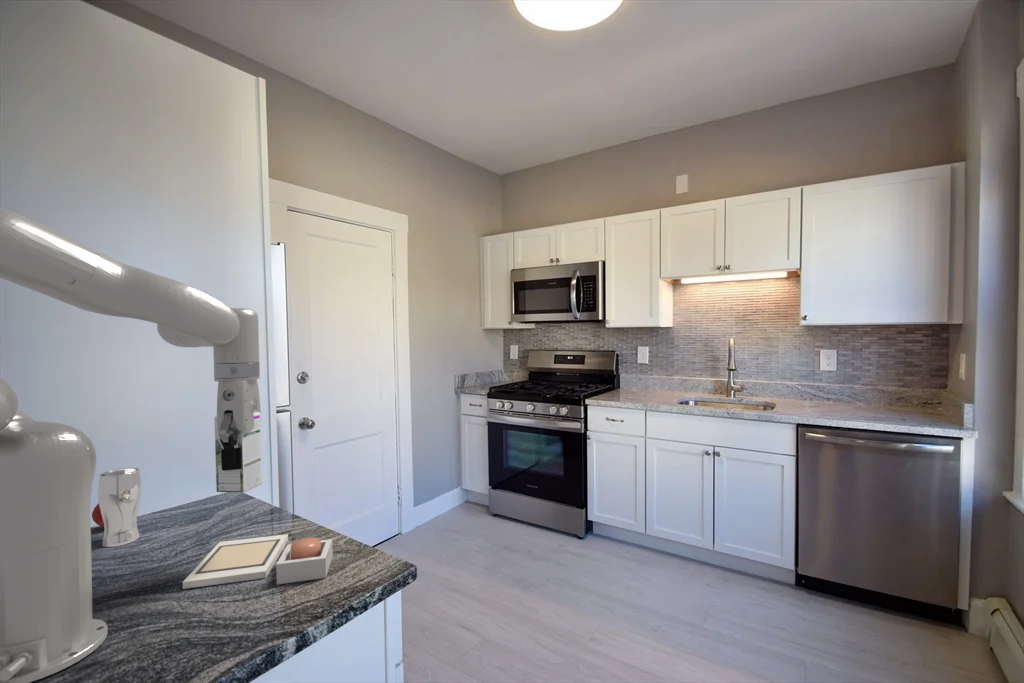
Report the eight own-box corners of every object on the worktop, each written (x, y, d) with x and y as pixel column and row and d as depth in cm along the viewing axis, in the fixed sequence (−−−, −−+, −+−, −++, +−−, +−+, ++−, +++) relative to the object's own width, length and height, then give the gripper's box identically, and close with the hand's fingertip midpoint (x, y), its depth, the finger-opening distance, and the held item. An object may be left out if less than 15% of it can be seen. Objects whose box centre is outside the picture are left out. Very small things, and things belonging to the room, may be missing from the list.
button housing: (325, 577, 79) (325, 558, 79) (276, 584, 78) (276, 564, 78) (332, 556, 87) (332, 539, 87) (288, 562, 85) (287, 544, 85)
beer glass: (137, 531, 102) (136, 465, 102) (145, 539, 97) (144, 470, 97) (96, 542, 96) (94, 473, 96) (102, 551, 92) (101, 478, 92)
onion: (85, 532, 102) (85, 497, 102) (114, 522, 107) (114, 489, 107) (103, 534, 100) (102, 499, 100) (131, 524, 106) (131, 490, 106)
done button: (318, 560, 81) (317, 547, 81) (287, 564, 79) (287, 551, 79) (322, 548, 85) (322, 536, 85) (294, 552, 84) (294, 539, 84)
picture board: (266, 577, 80) (265, 570, 80) (182, 588, 77) (182, 581, 77) (288, 539, 95) (288, 533, 95) (219, 547, 92) (219, 541, 92)
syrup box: (263, 483, 89) (262, 410, 89) (243, 493, 83) (241, 415, 83) (237, 483, 89) (235, 411, 89) (214, 493, 83) (213, 415, 84)
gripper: (243, 374, 79) (245, 475, 79) (271, 369, 95) (273, 451, 96) (194, 376, 77) (197, 479, 77) (232, 370, 94) (234, 454, 94)
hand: (239, 463), depth 86 cm, fingers closed on syrup box, 7 cm apart
